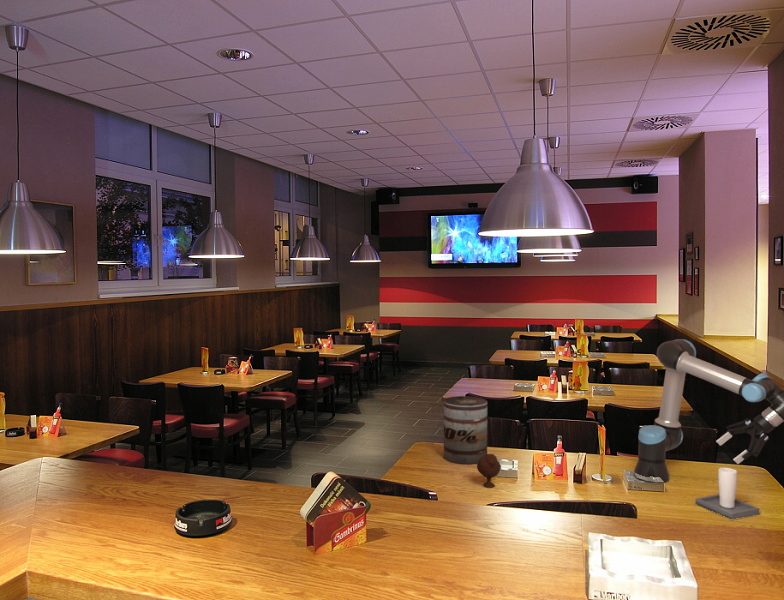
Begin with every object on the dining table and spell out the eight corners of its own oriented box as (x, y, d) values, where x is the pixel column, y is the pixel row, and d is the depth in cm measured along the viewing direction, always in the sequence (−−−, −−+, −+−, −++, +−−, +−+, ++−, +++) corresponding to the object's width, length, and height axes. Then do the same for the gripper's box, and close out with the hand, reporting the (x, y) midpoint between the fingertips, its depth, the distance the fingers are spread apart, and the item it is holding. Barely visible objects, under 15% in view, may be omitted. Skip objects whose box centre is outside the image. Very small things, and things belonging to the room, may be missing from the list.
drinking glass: (739, 510, 241) (739, 473, 240) (720, 509, 242) (721, 472, 241) (733, 503, 247) (733, 468, 247) (715, 502, 249) (715, 467, 248)
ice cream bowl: (502, 482, 276) (502, 450, 276) (498, 491, 266) (498, 458, 265) (479, 480, 280) (479, 448, 279) (474, 488, 269) (474, 456, 269)
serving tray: (695, 504, 250) (695, 498, 250) (722, 499, 255) (722, 493, 255) (731, 520, 234) (731, 514, 234) (759, 514, 240) (759, 508, 239)
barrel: (434, 456, 316) (434, 400, 314) (465, 448, 329) (465, 394, 328) (464, 467, 298) (464, 407, 296) (496, 458, 311) (496, 401, 310)
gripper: (792, 442, 241) (748, 475, 246) (755, 410, 265) (716, 441, 270) (781, 431, 240) (737, 464, 245) (745, 400, 263) (706, 431, 268)
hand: (726, 452), depth 257 cm, fingers open, 13 cm apart
